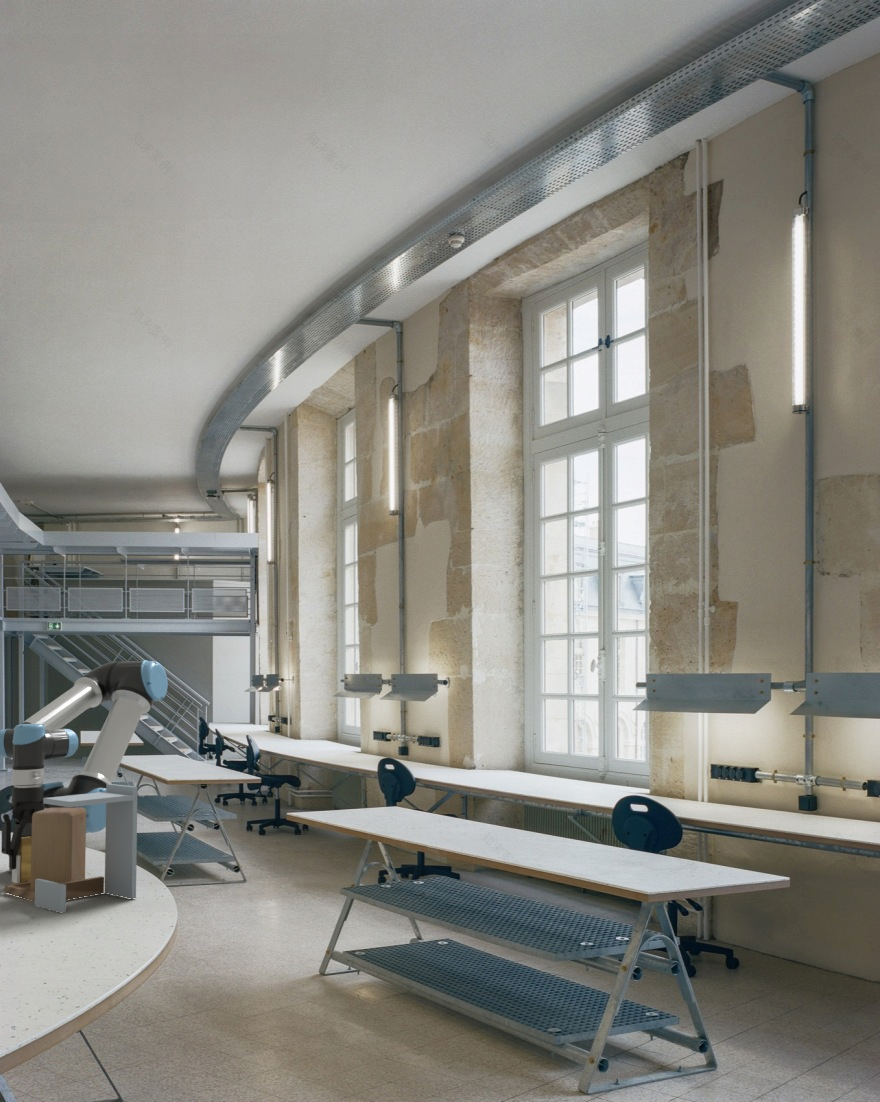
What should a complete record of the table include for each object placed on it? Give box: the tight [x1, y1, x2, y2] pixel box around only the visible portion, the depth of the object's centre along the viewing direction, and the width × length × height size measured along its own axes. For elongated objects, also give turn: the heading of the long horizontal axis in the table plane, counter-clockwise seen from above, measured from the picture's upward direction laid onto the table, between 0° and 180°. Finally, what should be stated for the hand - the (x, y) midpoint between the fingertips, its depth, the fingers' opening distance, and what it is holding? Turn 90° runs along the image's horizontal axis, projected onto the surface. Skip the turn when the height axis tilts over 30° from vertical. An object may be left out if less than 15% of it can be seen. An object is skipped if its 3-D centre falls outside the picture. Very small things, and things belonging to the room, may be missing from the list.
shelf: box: [34, 783, 138, 913], centre depth 258 cm, size 12×19×26 cm, turn 138°
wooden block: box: [30, 807, 87, 891], centre depth 267 cm, size 10×10×20 cm
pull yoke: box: [4, 837, 105, 902], centre depth 270 cm, size 26×15×12 cm, turn 48°
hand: (25, 880), depth 276 cm, fingers open, 4 cm apart
